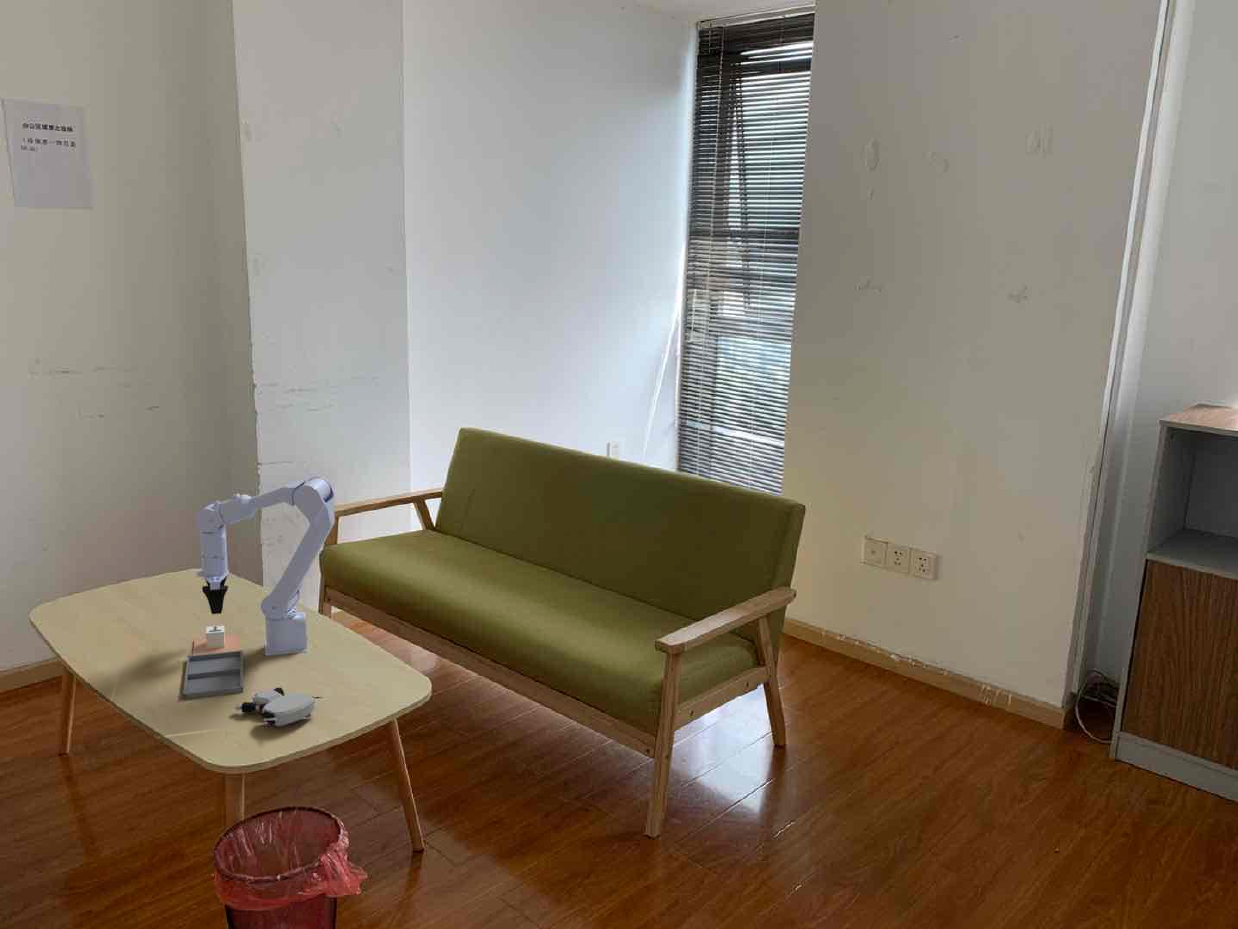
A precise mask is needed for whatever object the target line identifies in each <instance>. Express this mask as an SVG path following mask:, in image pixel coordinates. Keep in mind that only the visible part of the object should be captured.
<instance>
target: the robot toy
mask: <svg viewBox="0 0 1238 929" xmlns="http://www.w3.org/2000/svg"><path fill="white" fill-rule="evenodd" d="M251 697H252V701H251V702H250V701H249V702H248V701H244V702H242V703H239V704H237V705H236V706H234V709H235V710H236V711H241V712H242V713H252V712H254V711H256V712H258V713H261V718H262V720H263V722H265V723H267V724H270V725H273V726H276V727H284V726H286V725H290V724H292V723H294V722H297V721H300V720H302V719H304V718H305V717H306V716H309V715H310V714H311V713H312V712H313V711H314V710H315V708H316V700H315V699H323V698H324V696H322V695H320V696H313V695H311V694H308V693H305V692H302V691H298V692H291V693H287V694H285V691H284V690H283V688H282V687H276V688H275V687H274V688H272V689H266V690H262V691H259V692H258V693H256V694H253V695H252V696H251Z"/></svg>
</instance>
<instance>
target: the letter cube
mask: <svg viewBox="0 0 1238 929" xmlns="http://www.w3.org/2000/svg"><path fill="white" fill-rule="evenodd" d="M225 633H226V628H225V624H224V625H216V626H215V625H212V626H206V629H205V638H206V644H207V649H211V648H221V647H225V636H226V634H225Z"/></svg>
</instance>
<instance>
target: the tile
mask: <svg viewBox="0 0 1238 929" xmlns="http://www.w3.org/2000/svg"><path fill="white" fill-rule="evenodd" d="M239 635H240V634H238V633H237V634H231V635H230V634H229V635H225V647H221V648H211V649H207V644H206V637H199V638H197V637H196V638H194V644H193V652H192V655H201V654H211V653H221V652H231V651H239V647H240V646H239V642H240V640H239V638H240V637H239Z"/></svg>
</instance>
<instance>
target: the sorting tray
mask: <svg viewBox="0 0 1238 929" xmlns="http://www.w3.org/2000/svg"><path fill="white" fill-rule="evenodd" d="M182 691H183V692H182V699H183V700H188V699H196V698H198V699H199V698H204V697H212V696H221V695H230V694H240V693H243V692H244V652H243V650H238V651H231V652H221V653H211V654H201V655H193V654H192V655H187V658H186V668H185V673H184V681H183V690H182Z"/></svg>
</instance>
